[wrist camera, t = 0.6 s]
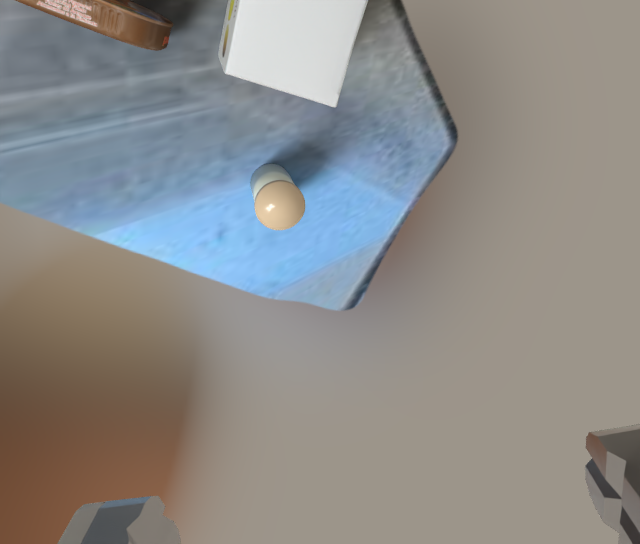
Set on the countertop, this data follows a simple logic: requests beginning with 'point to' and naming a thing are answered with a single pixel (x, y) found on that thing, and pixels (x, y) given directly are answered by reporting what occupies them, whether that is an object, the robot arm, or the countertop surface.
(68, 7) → the tin
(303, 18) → the supplement box
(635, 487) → the robot arm
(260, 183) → the jar
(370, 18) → the countertop surface
